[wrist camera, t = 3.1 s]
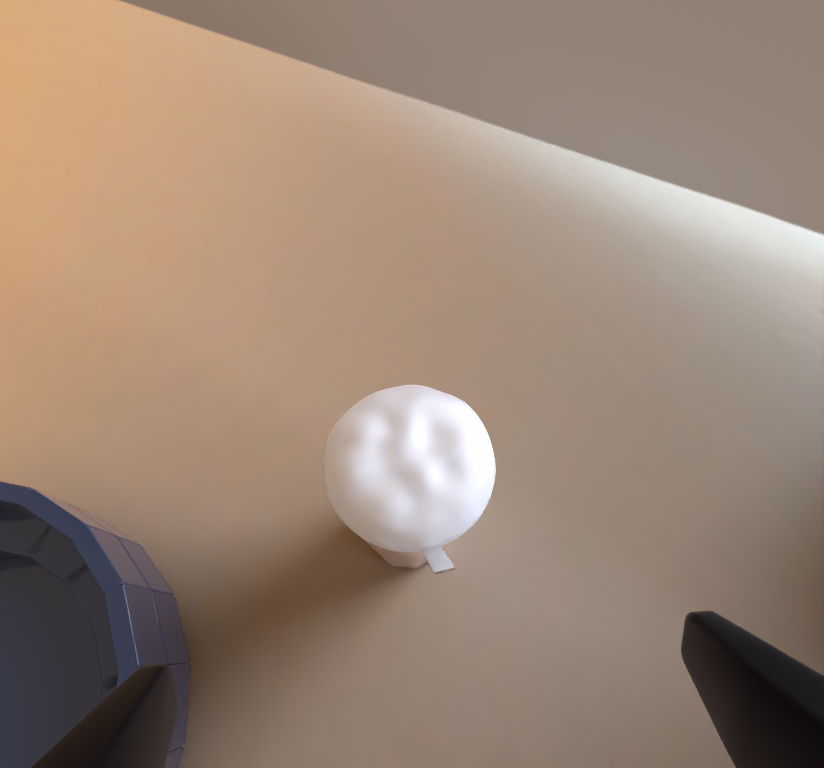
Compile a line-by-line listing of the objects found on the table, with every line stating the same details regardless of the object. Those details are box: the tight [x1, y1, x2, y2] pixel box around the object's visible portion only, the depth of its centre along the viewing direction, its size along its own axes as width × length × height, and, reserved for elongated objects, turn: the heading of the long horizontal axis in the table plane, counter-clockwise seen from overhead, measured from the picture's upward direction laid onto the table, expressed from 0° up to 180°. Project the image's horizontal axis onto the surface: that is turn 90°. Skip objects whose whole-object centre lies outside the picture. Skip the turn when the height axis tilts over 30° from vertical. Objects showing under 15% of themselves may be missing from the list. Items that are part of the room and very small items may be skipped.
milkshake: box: [323, 385, 496, 574], centre depth 16 cm, size 5×5×10 cm
